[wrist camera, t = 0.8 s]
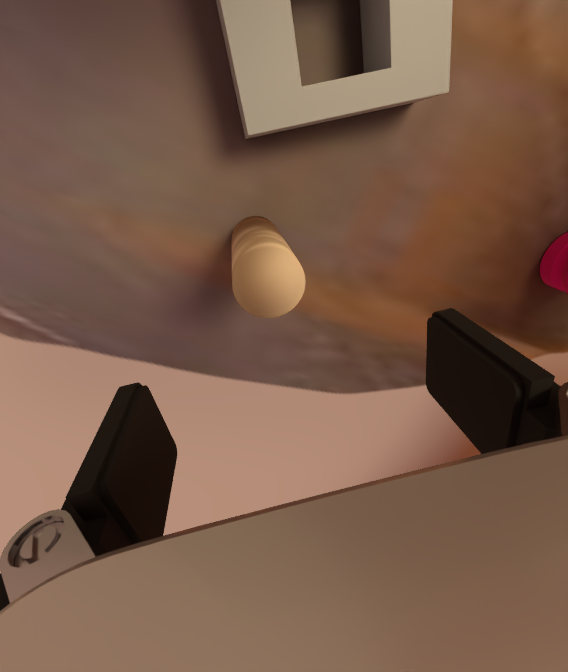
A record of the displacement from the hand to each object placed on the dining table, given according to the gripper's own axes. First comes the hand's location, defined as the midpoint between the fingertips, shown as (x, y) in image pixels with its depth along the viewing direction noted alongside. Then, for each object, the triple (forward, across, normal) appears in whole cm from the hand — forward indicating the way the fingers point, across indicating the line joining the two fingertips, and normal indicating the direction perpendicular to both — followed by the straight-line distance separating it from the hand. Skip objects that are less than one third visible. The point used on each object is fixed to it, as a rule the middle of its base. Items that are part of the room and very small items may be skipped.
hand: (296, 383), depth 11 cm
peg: (+22, 0, 0) cm, 22 cm away
